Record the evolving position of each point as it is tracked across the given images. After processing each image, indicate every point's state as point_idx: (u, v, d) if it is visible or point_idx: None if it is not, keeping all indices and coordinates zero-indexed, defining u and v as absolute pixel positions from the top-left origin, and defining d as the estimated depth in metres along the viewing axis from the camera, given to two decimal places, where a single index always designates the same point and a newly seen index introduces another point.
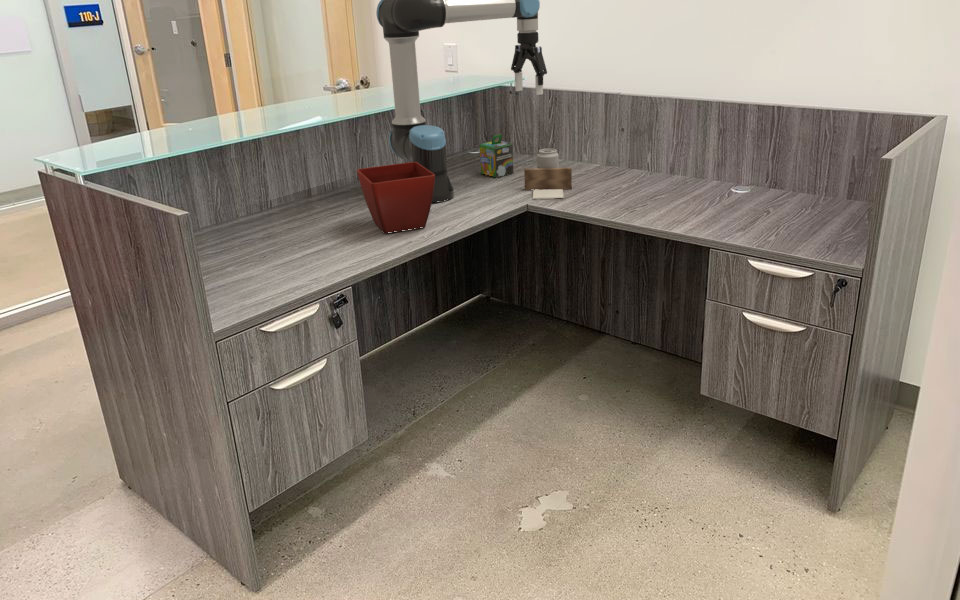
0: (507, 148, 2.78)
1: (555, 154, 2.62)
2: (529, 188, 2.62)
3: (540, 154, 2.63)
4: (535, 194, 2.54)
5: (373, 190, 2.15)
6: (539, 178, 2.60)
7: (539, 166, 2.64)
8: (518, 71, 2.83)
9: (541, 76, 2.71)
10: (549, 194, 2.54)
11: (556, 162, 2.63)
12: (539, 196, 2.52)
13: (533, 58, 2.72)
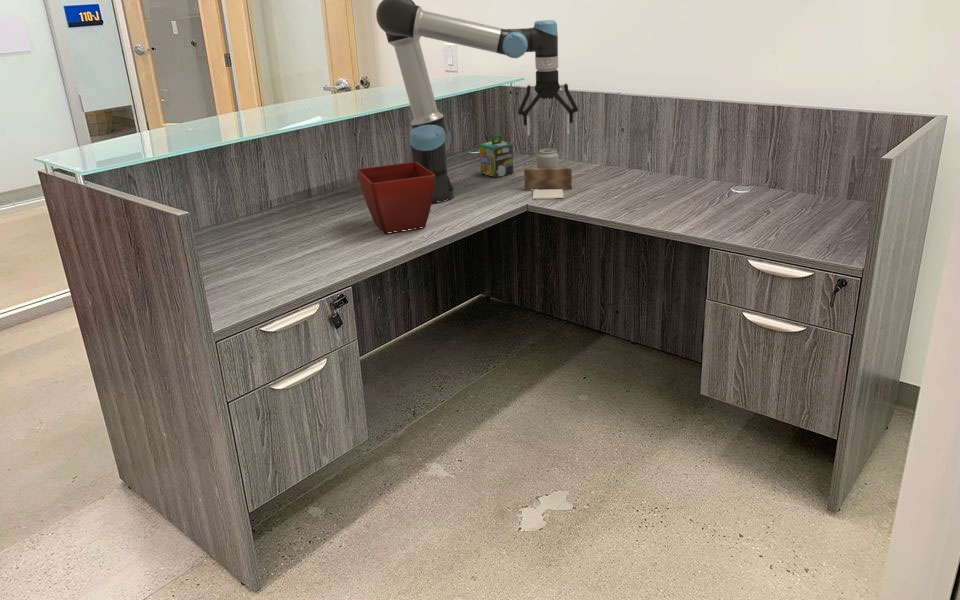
0: (507, 148, 2.78)
1: (555, 154, 2.62)
2: (529, 188, 2.62)
3: (540, 154, 2.63)
4: (535, 194, 2.54)
5: (373, 190, 2.15)
6: (539, 178, 2.60)
7: (539, 166, 2.64)
8: (569, 112, 2.58)
9: (523, 115, 2.60)
10: (549, 194, 2.54)
11: (556, 162, 2.63)
12: (539, 196, 2.52)
13: (535, 97, 2.58)
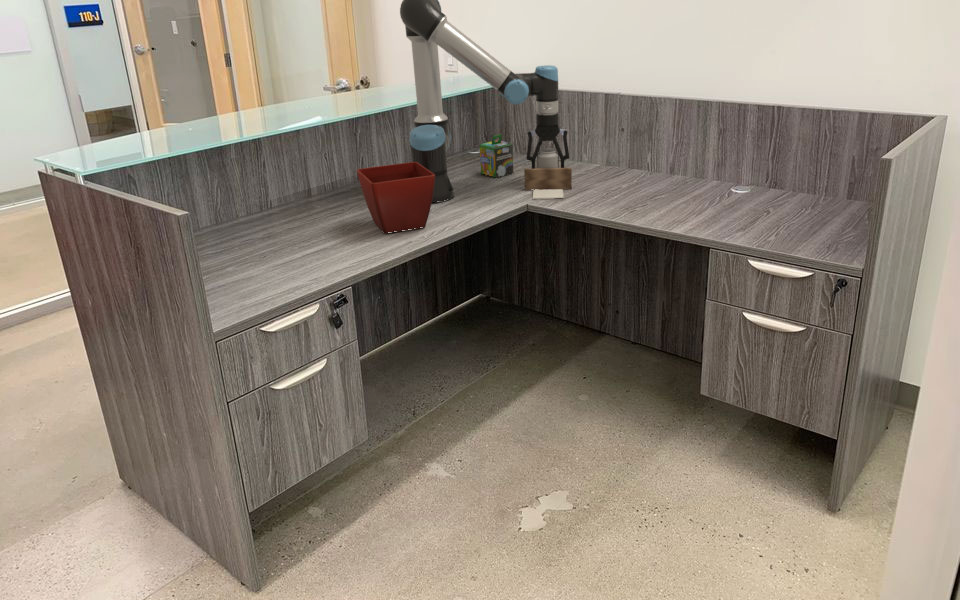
0: (507, 148, 2.78)
1: (555, 154, 2.62)
2: (529, 188, 2.62)
3: (540, 154, 2.63)
4: (535, 194, 2.54)
5: (373, 190, 2.15)
6: (539, 178, 2.60)
7: (539, 166, 2.64)
8: None
9: (531, 161, 2.66)
10: (549, 194, 2.54)
11: (556, 162, 2.63)
12: (539, 196, 2.52)
13: (538, 141, 2.63)
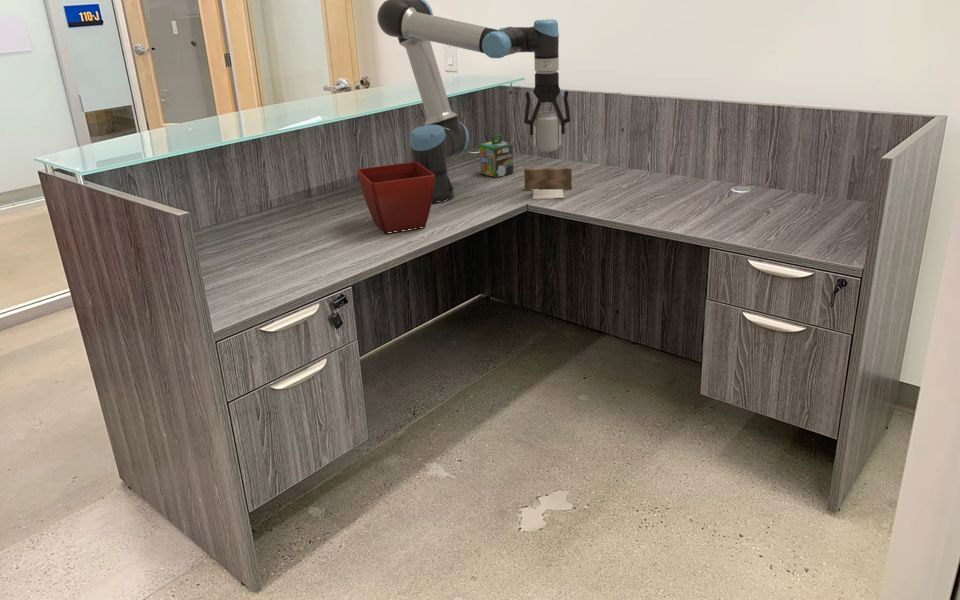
0: (507, 148, 2.78)
1: (555, 117, 2.43)
2: (529, 188, 2.62)
3: (539, 117, 2.43)
4: (535, 194, 2.54)
5: (373, 190, 2.15)
6: (539, 178, 2.60)
7: (538, 130, 2.44)
8: (561, 122, 2.45)
9: None
10: (549, 194, 2.54)
11: (556, 125, 2.43)
12: (539, 196, 2.52)
13: None
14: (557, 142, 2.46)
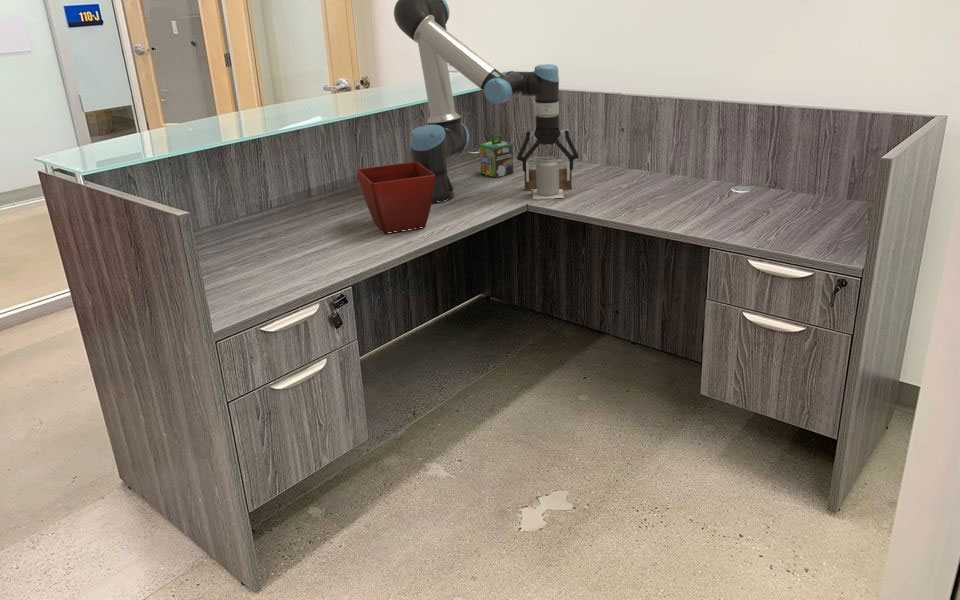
0: (507, 148, 2.78)
1: (555, 162, 2.48)
2: (529, 188, 2.62)
3: (539, 162, 2.49)
4: (535, 194, 2.54)
5: (373, 190, 2.15)
6: None
7: (538, 175, 2.50)
8: (569, 159, 2.49)
9: (522, 161, 2.51)
10: None
11: (556, 171, 2.49)
12: (539, 196, 2.52)
13: None
14: (557, 187, 2.52)
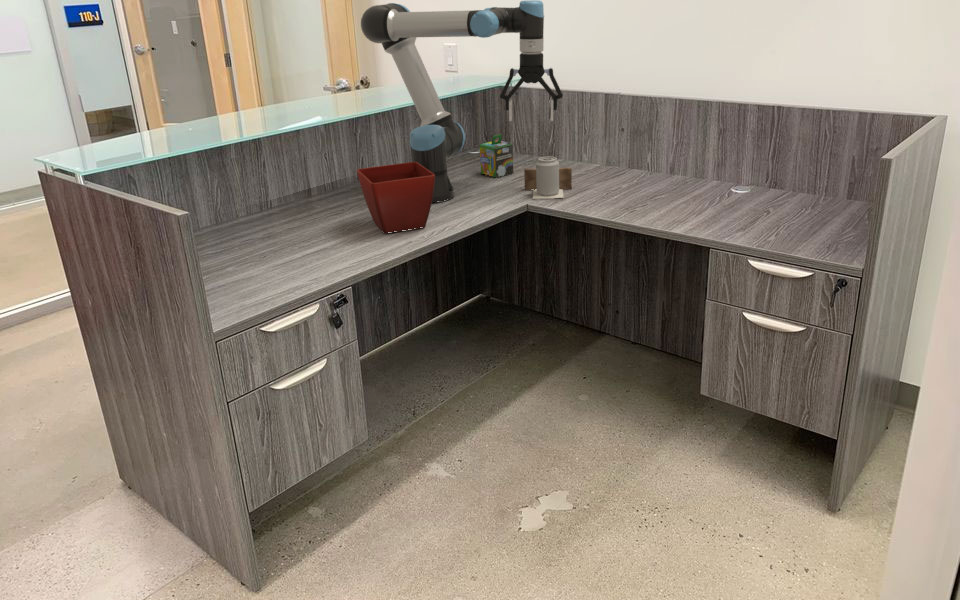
0: (507, 148, 2.78)
1: (555, 162, 2.48)
2: (529, 188, 2.62)
3: (539, 162, 2.49)
4: (535, 194, 2.54)
5: (373, 190, 2.15)
6: None
7: (538, 175, 2.50)
8: (553, 98, 2.46)
9: (505, 100, 2.48)
10: None
11: (556, 171, 2.49)
12: (539, 196, 2.52)
13: (518, 81, 2.46)
14: (557, 187, 2.52)
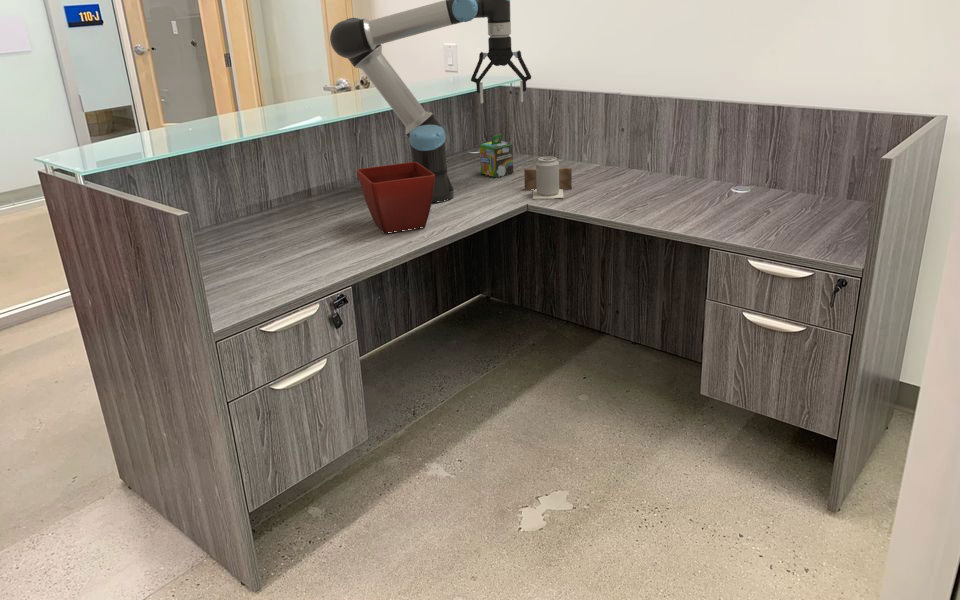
0: (507, 148, 2.78)
1: (555, 162, 2.48)
2: (529, 188, 2.62)
3: (539, 162, 2.49)
4: (535, 194, 2.54)
5: (373, 190, 2.15)
6: None
7: (538, 175, 2.50)
8: (522, 80, 2.55)
9: (476, 83, 2.57)
10: None
11: (556, 171, 2.49)
12: (539, 196, 2.52)
13: None
14: (557, 187, 2.52)
